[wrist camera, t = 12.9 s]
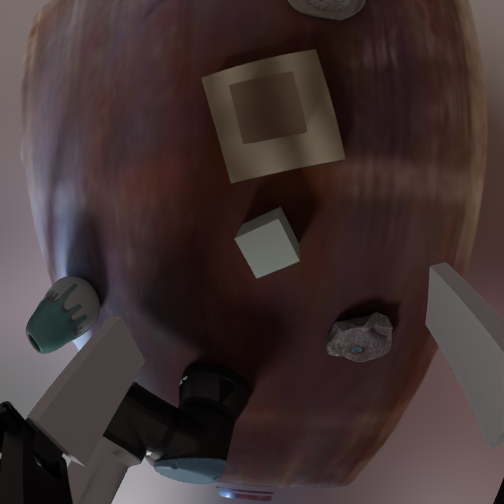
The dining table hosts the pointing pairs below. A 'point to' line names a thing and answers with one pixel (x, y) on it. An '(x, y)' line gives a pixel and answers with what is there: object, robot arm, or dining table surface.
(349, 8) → the fossil
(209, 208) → the dining table surface
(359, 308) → the dining table surface
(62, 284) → the vase
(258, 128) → the walnut block
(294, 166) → the plinth
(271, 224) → the grey green cube
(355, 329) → the rock
